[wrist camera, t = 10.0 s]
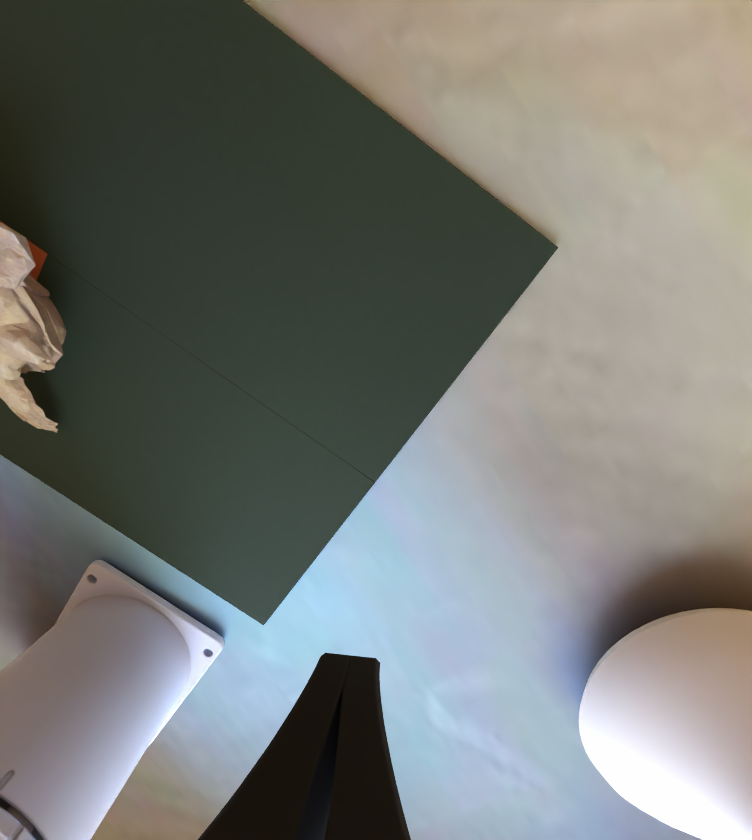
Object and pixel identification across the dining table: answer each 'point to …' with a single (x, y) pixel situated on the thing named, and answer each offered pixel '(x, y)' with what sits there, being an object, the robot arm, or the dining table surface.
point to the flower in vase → (678, 721)
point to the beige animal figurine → (25, 328)
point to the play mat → (232, 280)
